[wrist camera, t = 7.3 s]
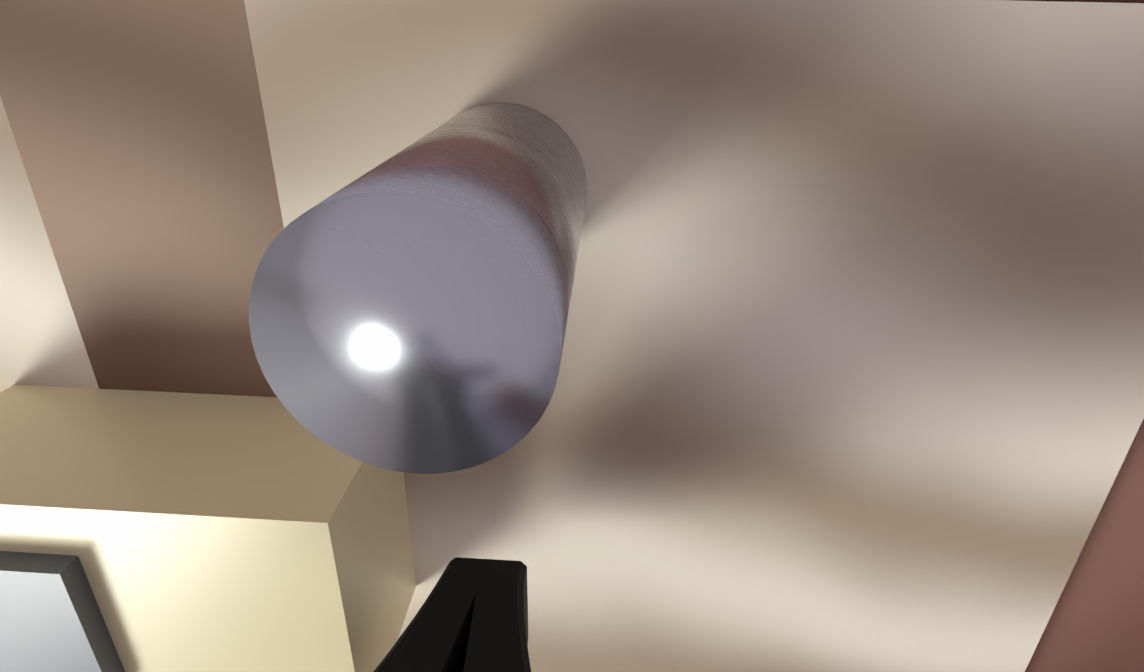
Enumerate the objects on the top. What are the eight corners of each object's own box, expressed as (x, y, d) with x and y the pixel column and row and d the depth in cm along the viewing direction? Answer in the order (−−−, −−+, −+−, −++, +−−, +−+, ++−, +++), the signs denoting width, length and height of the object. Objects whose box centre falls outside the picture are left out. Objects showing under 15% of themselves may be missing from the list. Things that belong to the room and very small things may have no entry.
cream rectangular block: (416, 585, 16) (358, 752, 12) (86, 565, 16) (-64, 721, 12) (395, 403, 13) (316, 541, 10) (13, 384, 14) (-194, 511, 10)
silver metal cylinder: (584, 269, 12) (558, 480, 6) (429, 263, 12) (278, 465, 7) (589, 104, 11) (563, 197, 5) (417, 99, 11) (218, 185, 5)
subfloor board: (961, 746, 18) (975, 776, 17) (42, 681, 19) (19, 707, 19) (1285, 7, 10) (1337, 6, 9) (-306, -26, 11) (-368, -28, 11)
